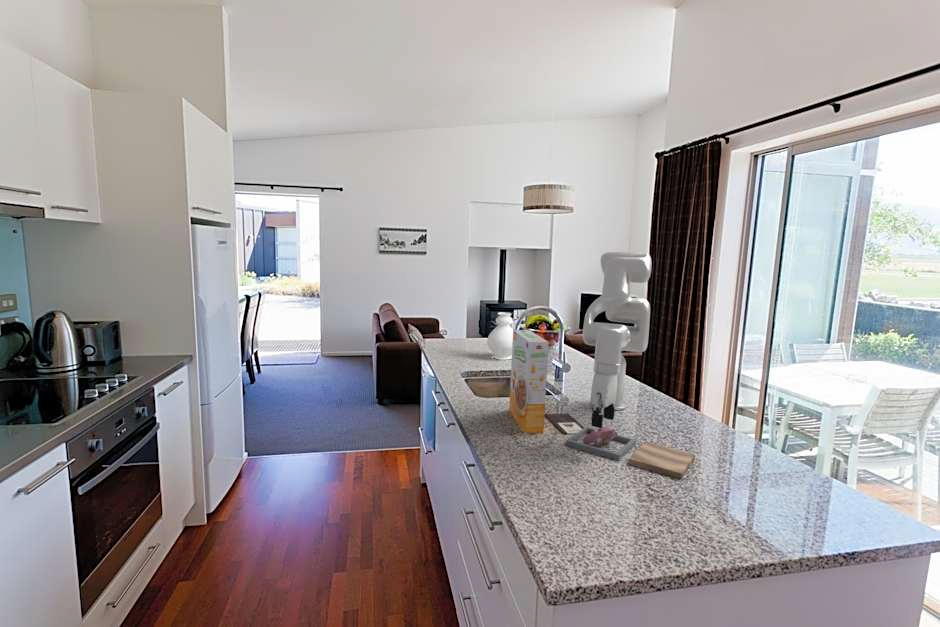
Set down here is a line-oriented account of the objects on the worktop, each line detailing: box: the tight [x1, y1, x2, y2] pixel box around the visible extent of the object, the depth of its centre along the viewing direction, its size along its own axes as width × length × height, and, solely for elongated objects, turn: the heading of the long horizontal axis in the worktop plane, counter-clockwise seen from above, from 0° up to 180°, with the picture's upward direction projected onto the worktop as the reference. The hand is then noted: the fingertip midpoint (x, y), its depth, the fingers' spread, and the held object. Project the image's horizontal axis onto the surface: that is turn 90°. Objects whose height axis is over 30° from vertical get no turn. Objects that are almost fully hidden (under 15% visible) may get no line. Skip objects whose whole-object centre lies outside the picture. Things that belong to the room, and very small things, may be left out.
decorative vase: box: [486, 311, 514, 359], centre depth 260 cm, size 18×18×25 cm
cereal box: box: [508, 329, 550, 434], centre depth 162 cm, size 22×6×30 cm, turn 8°
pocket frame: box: [565, 426, 637, 461], centre depth 146 cm, size 15×16×2 cm
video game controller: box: [582, 426, 618, 446], centre depth 145 cm, size 10×5×7 cm, turn 118°
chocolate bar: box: [544, 413, 590, 436], centre depth 162 cm, size 9×1×18 cm
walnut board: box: [628, 441, 696, 480], centre depth 135 cm, size 16×14×2 cm
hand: (602, 422), depth 144 cm, fingers open, 9 cm apart
